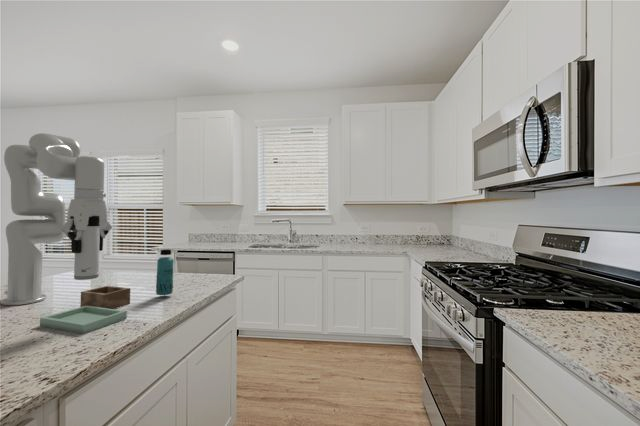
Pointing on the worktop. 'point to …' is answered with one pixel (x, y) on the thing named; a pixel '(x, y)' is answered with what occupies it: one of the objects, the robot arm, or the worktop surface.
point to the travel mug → (88, 252)
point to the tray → (83, 319)
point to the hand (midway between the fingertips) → (87, 251)
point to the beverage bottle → (164, 274)
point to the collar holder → (106, 297)
